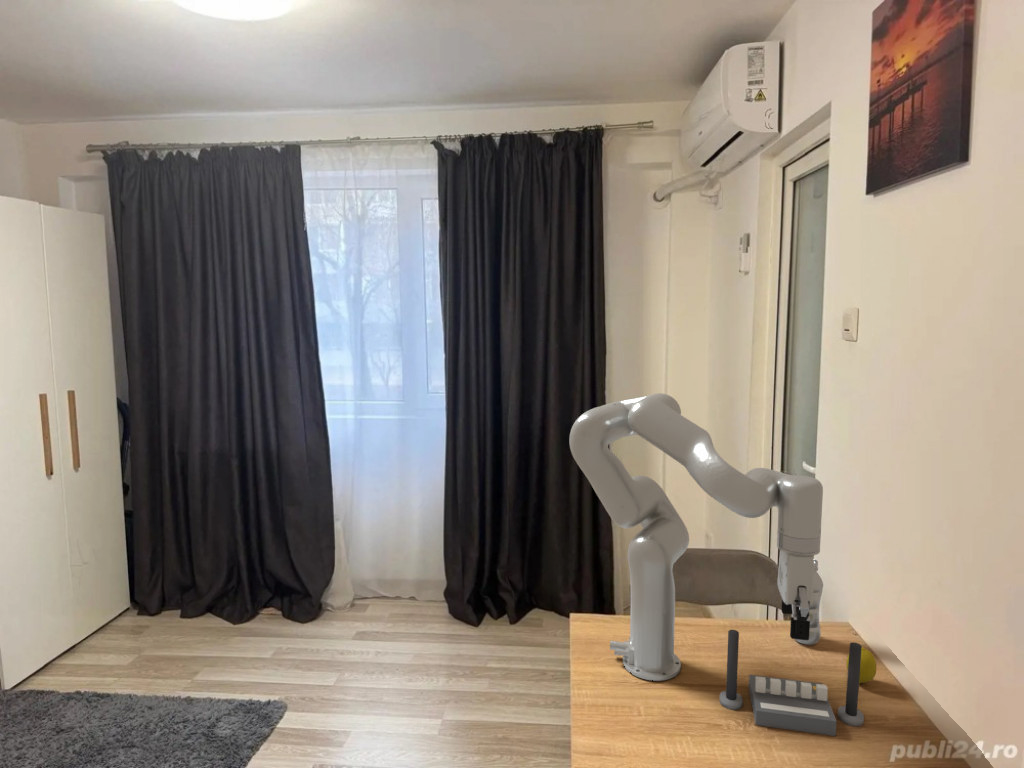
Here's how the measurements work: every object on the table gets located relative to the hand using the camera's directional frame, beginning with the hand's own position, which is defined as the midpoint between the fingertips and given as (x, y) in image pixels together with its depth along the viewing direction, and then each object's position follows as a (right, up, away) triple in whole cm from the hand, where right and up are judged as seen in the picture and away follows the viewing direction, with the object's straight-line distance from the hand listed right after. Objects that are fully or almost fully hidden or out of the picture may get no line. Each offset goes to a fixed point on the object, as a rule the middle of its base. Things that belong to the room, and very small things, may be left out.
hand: (794, 625), depth 124 cm
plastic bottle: (+15, -14, +28) cm, 34 cm away
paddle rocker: (0, -14, +2) cm, 15 cm away
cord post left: (-11, -18, +5) cm, 21 cm away
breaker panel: (0, -18, +3) cm, 18 cm away
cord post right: (+11, -18, 0) cm, 21 cm away
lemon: (+19, -17, +11) cm, 27 cm away
